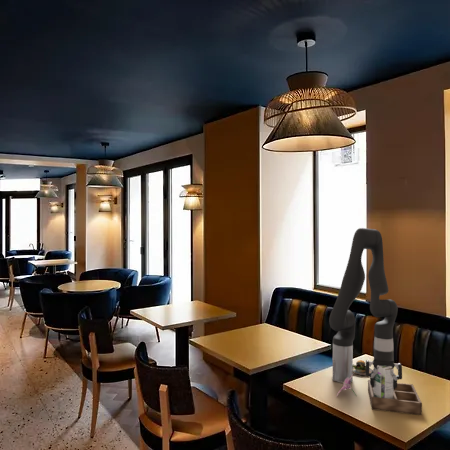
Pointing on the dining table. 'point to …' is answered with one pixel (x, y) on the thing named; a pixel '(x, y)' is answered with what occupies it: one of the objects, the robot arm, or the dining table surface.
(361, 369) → the burger
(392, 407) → the caddy
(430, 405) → the dining table surface
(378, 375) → the syrup box
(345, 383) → the lily
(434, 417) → the dining table surface
